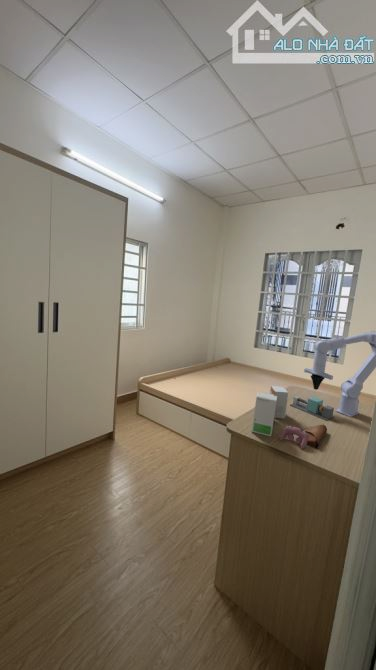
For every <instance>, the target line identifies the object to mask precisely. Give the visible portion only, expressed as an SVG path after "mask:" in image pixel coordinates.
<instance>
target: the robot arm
mask: <svg viewBox="0 0 376 670" xmlns="http://www.w3.org/2000/svg"><path fill="white" fill-rule="evenodd" d="M360 342H363V343H368V344H369V346H370V348H371V351H372V352H371V353H370V355H369V356H368V357H367V358H366V360H365V361H364V362H363V363H362V364H361V365H360V367H359V368H358V370H357V371H356V372H355V373H354V374H353V376H351V377H349V378H348V379H347V380H345V381H343V382H342V383H341V385H340V389H341V391H342V392H341V395H340V398H339V399H340V400H339V407H338V408H337V409H334V411H335V412H337V413H340V414H343V415H345V416H348V417H349V418H350V417H351V418H353V417H354V416H356V415H359V414H360V412H359V411H358V410H359V405H360V400H359V397H360V396H361V391H362V390H363V389H364V388H363V387H364V382H365V381H366V380H367V379H368V378H369V377H370V376H371V374H372V373H373V372H374V371H375V369H376V330H372V331H366V332H363V333H362V332H361V333H359V334H354V335H351V336H348V337H344V338H343V337H341V336H338V335H336V336H334V337H333V338H328V339H327V338H325V339H324V340H318V341H316V343H315V344H314V348H315V349H314V350H315V353H314V359H313V366H312V368H304V370H303V373H307V374H310V378H311V380H312V385H313V390H315V391H316V390H319V388H320V385H321V383H322V382H323V381H324V380H325V379H327V380H330V381H332V380H334V376H333V375H332V374H329V373H326V365H327V359H328V353H329V352H330V351H336V350H339V349H343V348H345V346H346V345H350V344H356V343H360Z"/></svg>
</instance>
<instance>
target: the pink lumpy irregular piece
mask: <svg viewBox="0 0 376 670" xmlns="http://www.w3.org/2000/svg"><path fill="white" fill-rule="evenodd" d="M294 435H295V436H297V437H296V438H295V436H294ZM286 437H287V439H288V440H289V441H291V442H293V441H295V443H296V444H298V445H300V448H301V449H300V450H304V449H305V448H306V447H307V445H306V444H307V441H308V439H309V436H308V434H307V433H306V432H304V430H303V429H302V428H299V427H297V426H291V425H287V426H286V427H284V429H283V431H282V432H281V434H280V436H279V439H280V441H283V440H284V439H286Z"/></svg>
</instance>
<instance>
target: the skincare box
mask: <svg viewBox="0 0 376 670" xmlns="http://www.w3.org/2000/svg"><path fill="white" fill-rule="evenodd" d="M264 393H265V392H260V391H259V392H258V391H257V393H256V398H255V404H254V405H255V406H254V412H253V417H252V425H251V432H252V433H255V434H258V435H263V436H266V437H267V436H268V437H270V438H271V437H272V435H273V434H272V433H273V427H274V421H275V418H274V416H275V409H276V403H277V396H273V395H269V394H270V393H269V394H264Z"/></svg>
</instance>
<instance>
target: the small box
mask: <svg viewBox="0 0 376 670" xmlns="http://www.w3.org/2000/svg"><path fill="white" fill-rule="evenodd" d="M269 394H274V396H277V403H276V409H275V416H274V419H277V418H278V419H286V413H287V404H288V399H289V397H288V396H289V392H288V390H287V389H286V388H285V387H284V386H278V385H271V386H270V390H269Z"/></svg>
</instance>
